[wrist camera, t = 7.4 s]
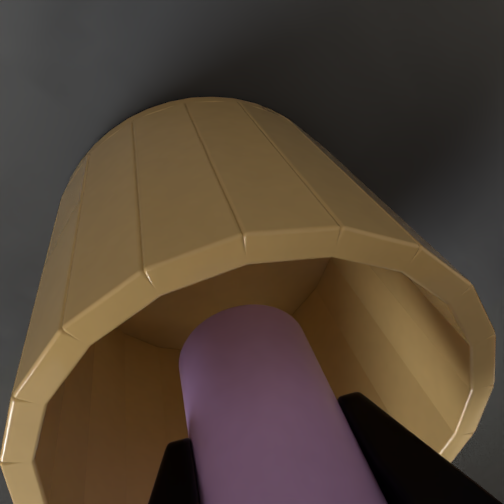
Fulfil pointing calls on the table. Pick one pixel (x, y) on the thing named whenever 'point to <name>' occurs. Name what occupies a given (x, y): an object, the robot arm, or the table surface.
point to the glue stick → (267, 416)
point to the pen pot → (225, 296)
